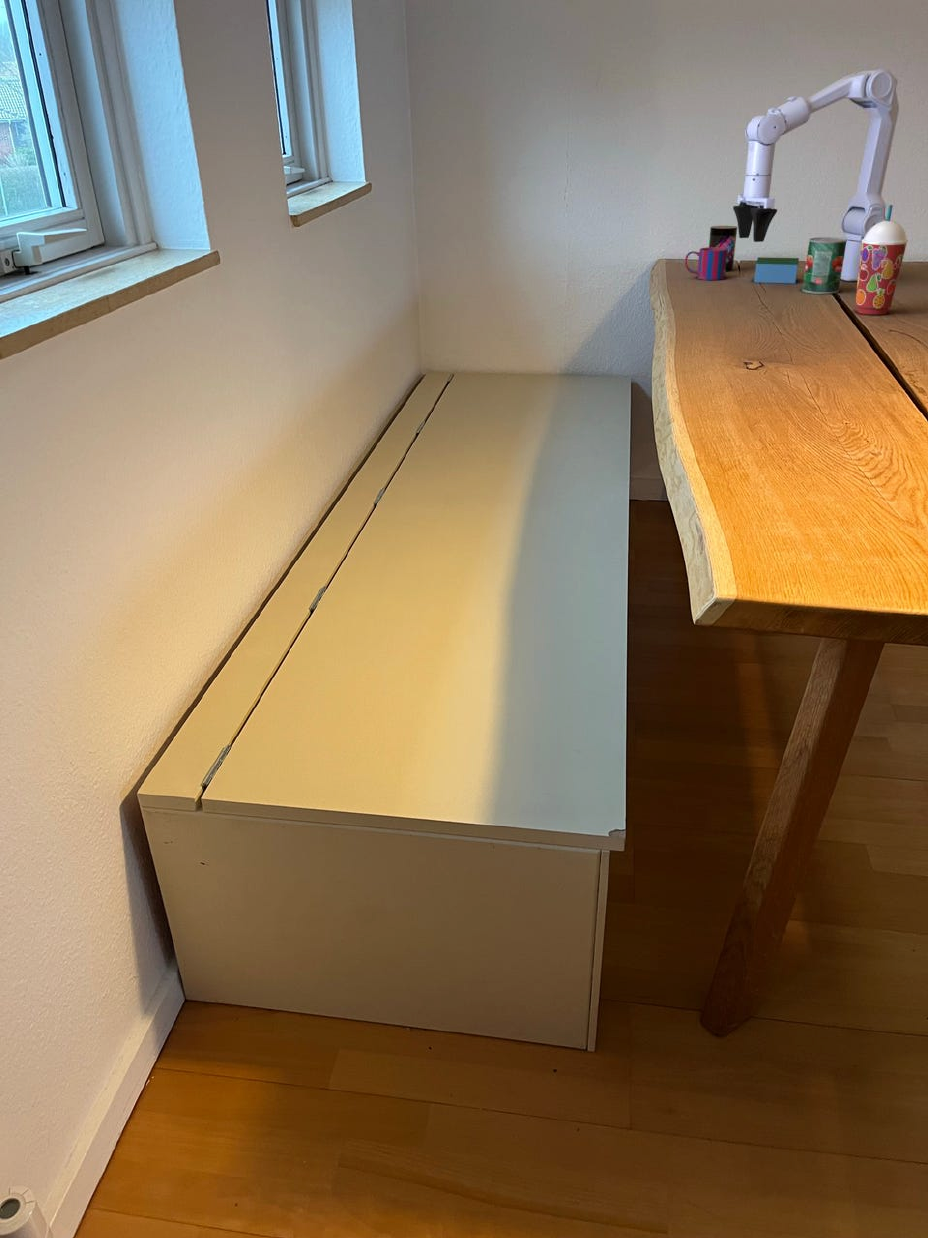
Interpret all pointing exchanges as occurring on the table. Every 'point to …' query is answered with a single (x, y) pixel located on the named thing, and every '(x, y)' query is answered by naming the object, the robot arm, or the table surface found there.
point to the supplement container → (724, 241)
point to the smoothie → (880, 266)
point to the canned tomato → (824, 265)
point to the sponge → (776, 270)
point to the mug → (710, 263)
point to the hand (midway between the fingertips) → (751, 239)
